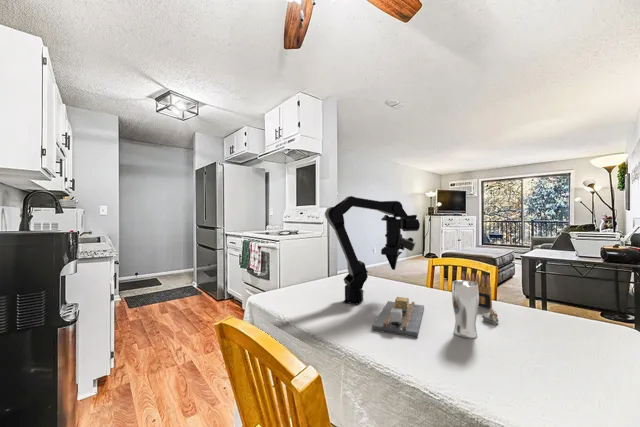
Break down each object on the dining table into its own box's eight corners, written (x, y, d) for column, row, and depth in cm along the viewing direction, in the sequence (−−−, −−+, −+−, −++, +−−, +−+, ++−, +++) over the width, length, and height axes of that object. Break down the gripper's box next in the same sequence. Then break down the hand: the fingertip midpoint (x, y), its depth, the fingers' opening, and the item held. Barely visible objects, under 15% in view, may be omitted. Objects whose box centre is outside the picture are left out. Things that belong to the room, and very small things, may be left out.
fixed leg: (390, 325, 86) (390, 311, 86) (392, 322, 89) (392, 308, 88) (400, 327, 85) (400, 312, 85) (402, 323, 87) (402, 309, 87)
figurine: (478, 318, 94) (480, 301, 93) (491, 318, 94) (493, 301, 93) (488, 327, 88) (491, 309, 88) (502, 327, 89) (505, 309, 88)
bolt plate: (372, 330, 86) (372, 322, 86) (388, 305, 108) (388, 298, 108) (417, 337, 80) (417, 329, 80) (424, 309, 103) (424, 302, 103)
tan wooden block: (395, 309, 96) (395, 300, 96) (397, 306, 100) (396, 296, 100) (407, 311, 95) (407, 301, 95) (408, 307, 98) (408, 298, 98)
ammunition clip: (492, 307, 105) (491, 275, 104) (490, 308, 103) (490, 276, 103) (461, 301, 112) (461, 271, 112) (459, 302, 111) (459, 271, 111)
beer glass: (476, 330, 85) (476, 280, 84) (481, 341, 78) (481, 286, 78) (450, 327, 87) (450, 279, 87) (453, 337, 80) (453, 284, 80)
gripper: (410, 233, 104) (411, 276, 104) (416, 230, 121) (416, 267, 121) (380, 233, 109) (381, 273, 109) (390, 230, 126) (390, 265, 126)
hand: (393, 269), depth 116 cm, fingers closed
